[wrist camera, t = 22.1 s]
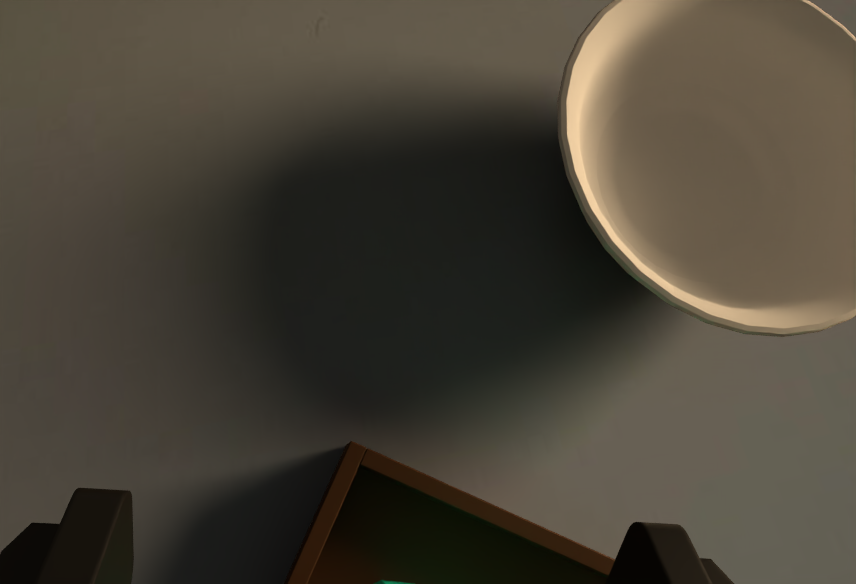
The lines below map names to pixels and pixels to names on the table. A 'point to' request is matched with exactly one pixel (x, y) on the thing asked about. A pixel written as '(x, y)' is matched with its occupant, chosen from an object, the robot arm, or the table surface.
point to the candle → (391, 582)
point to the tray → (428, 534)
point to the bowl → (720, 156)
